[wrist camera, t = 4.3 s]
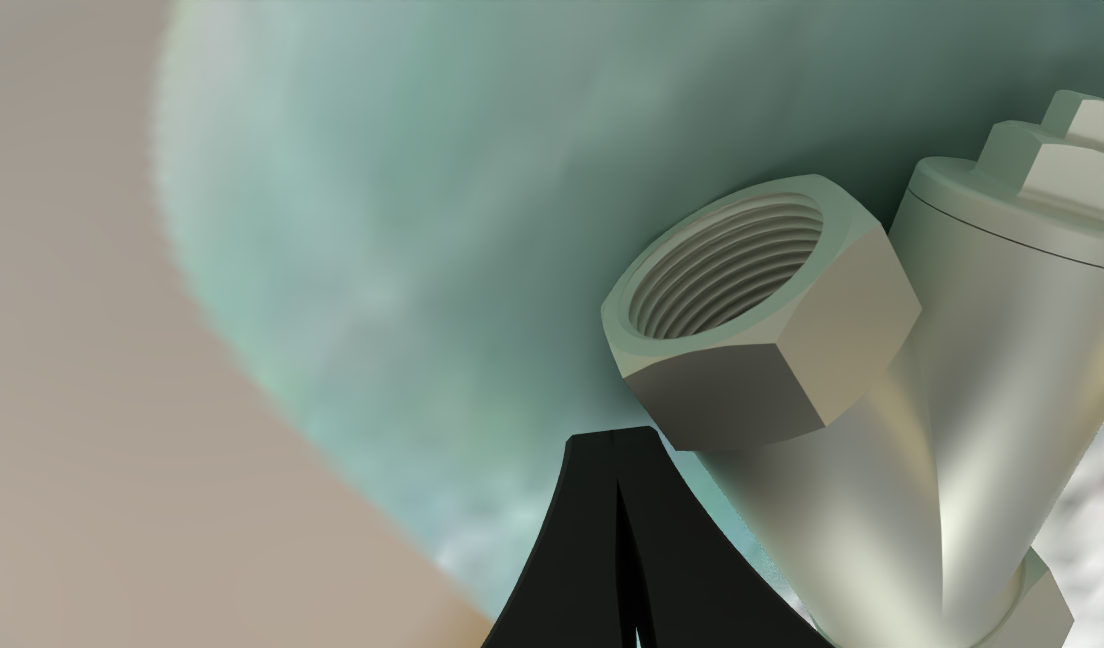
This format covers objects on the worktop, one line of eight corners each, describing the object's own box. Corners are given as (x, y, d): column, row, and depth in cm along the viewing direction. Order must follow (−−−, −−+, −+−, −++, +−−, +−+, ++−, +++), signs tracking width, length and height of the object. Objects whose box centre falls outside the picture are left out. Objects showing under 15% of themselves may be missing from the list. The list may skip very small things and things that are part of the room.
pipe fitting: (1006, 4, 11) (585, 272, 12) (1254, 46, 7) (630, 414, 9) (1150, 409, 14) (807, 586, 15) (1367, 568, 11) (904, 780, 12)
